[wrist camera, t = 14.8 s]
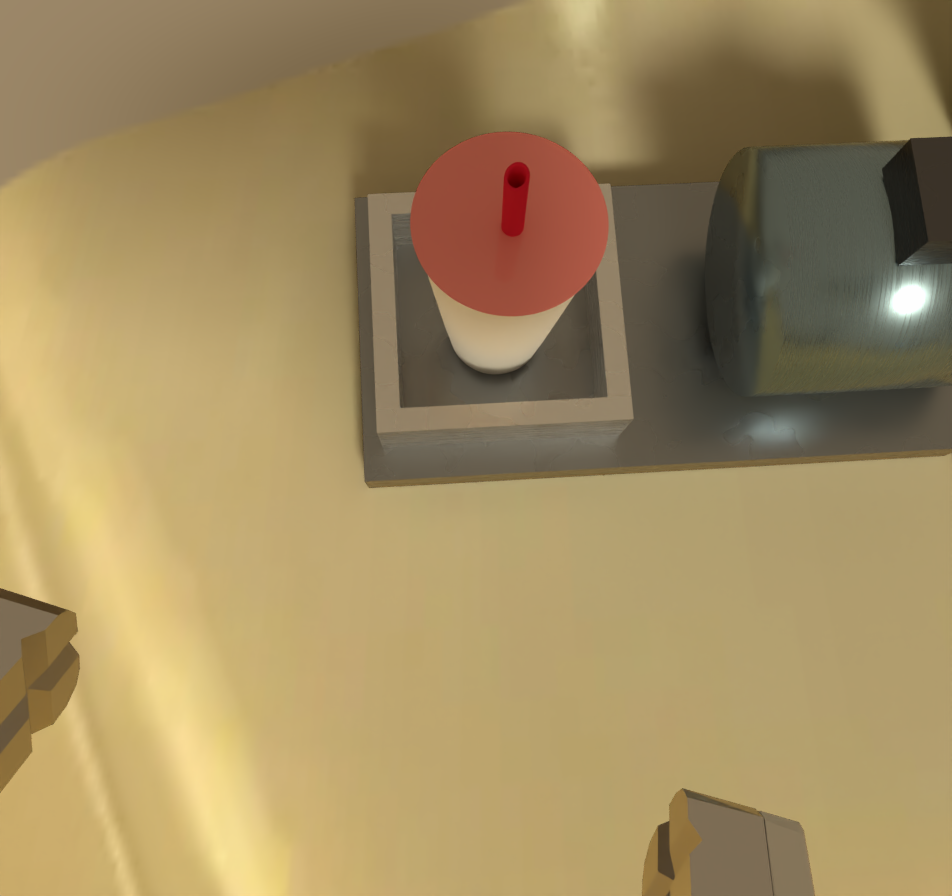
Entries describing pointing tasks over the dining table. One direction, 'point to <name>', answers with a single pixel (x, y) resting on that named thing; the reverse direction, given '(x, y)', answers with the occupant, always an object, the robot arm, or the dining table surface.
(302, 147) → the dining table surface
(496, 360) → the cup
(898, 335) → the base
